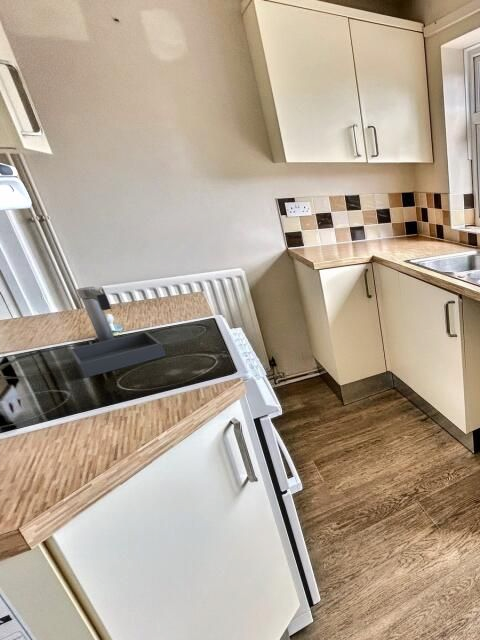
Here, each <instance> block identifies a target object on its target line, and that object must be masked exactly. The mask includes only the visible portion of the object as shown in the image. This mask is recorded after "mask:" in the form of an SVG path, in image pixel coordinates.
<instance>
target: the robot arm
mask: <svg viewBox="0 0 480 640" xmlns="http://www.w3.org/2000/svg"><path fill="white" fill-rule="evenodd" d="M18 175H19V173H18V169H16V167H15V166H12V165H9V164H6V163H1V162H0V211H12V210H24V209H30V208H31V207H32V205H33V202H32V199H31V197H30V194H29V193H28V190H27V188H26V186H25V184H24V183H23V182H22V181H21V180H20V179H19V178H18V177H17V176H18ZM1 231H2V229H0V232H1Z"/></svg>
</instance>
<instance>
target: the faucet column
mask: <svg viewBox="0 0 480 640" xmlns="http://www.w3.org/2000/svg"><path fill="white" fill-rule="evenodd" d="M81 301H82V303H83V306H84V308H85V311H86V313H87V315H88V318H89V320H90V322H91V324H92V327H93V329H94V331H95V335H96V334H97V336H98V338H97V339H98V341H99V342H103V341H107V340H112V339H116V338H115V336H114V335H113V333H112V331H111V328H110V326H109V323H108V321H107V318H106V317H107V315H106V314H105V313H106V312H105V310H101V309H100V307H99V304H98V302H97V301H96V300H94V299H91V298H86V299H81Z"/></svg>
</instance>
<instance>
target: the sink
mask: <svg viewBox="0 0 480 640" xmlns="http://www.w3.org/2000/svg"><path fill="white" fill-rule="evenodd" d="M68 352H69V353H70V355H71V358H72V359H73V362H74V363H75V365H76V366H77V368H78V369H79V372H81V375H82V376H83V378H85V379H86V378H90V377H94V376H98V375H101V374H105V373H109V372H113V371H115V370H120V369H123V368H127V367H131V366H134V365H138V364H141V363H145V362H149V361H152V360H156V359H159V358H164V357H166V356H167V355H166V352H165V350H164V347H163V344H162V342H161V341H159V340H158V339H157V338H156V337H154V336H153V335H151V334H150V333H149V332H148V331H142V332H138V333H134V334H130V335H125V336H121V337H116V338H115V339H112V340H107V341H103V342H100V341H99V342H94V343H90V344H85V345H82V346H78V347H73V348H69V349H68Z"/></svg>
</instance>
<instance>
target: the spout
mask: <svg viewBox="0 0 480 640" xmlns="http://www.w3.org/2000/svg"><path fill="white" fill-rule="evenodd" d="M76 292H77V295H78V296H79V299H80V300H82V299H86V298H91V299H94V300H96V301H97V302H98V304H99V307H100V309H101V310H103V311H108V310H111V309H112V307H111V304H110V302H109V300H108V297H107V295H106V293H104V292H101V291H98V290H97V289H96V287H95V286H86V287H81V288H77V289H76Z"/></svg>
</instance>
